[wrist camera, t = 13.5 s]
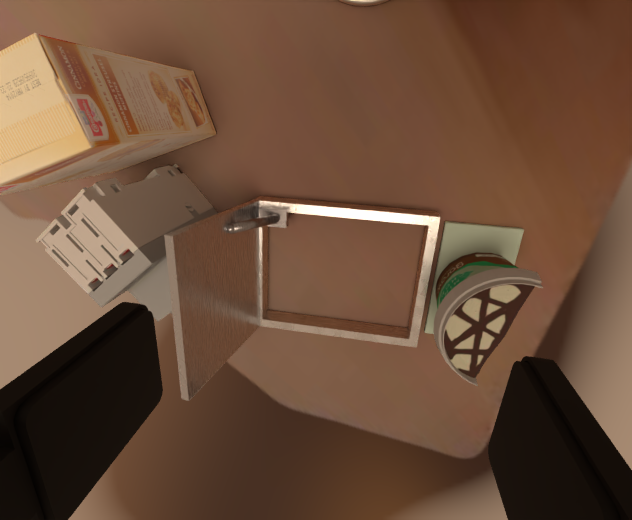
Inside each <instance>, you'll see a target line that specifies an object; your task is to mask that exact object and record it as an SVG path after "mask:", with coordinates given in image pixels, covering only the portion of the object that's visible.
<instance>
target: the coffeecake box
mask: <svg viewBox="0 0 632 520" xmlns="http://www.w3.org/2000/svg"><path fill="white" fill-rule="evenodd" d="M216 134H217V133H216V131H215V128H214V126H213V123H212V120H211V118H210V115H209V112H208V110H207V107H206V104H205V101H204V99H203V96H202V93H201V90H200V87H199V84H198V82H197V79H196V77H195V74H194V71H193V70H191V71H190V70H186V69H181V68H177V67H172V66H169V65H164V64H160V63H156V62H152V61H148V60H143V59H139V58H135V57H131V56H127V55H123V54H118V53H114V52H110V51H106V50H102V49H97V48H93V47H89V46H85V45H80V44H76V43H72V42H68V41H63V40H59V39H55V38H51V37H47V36H43V35H40V34H37V33H34V34H32V35H30V36H28V37H26V38H24V39H22V40H20V41H19V42H17V43H15V44H13V45H11V46H9V47H7V48H5V49H3V50H1V51H0V195H5V194H10V193H14V192H19V191H24V190H29V189H34V188H39V187H44V186H49V185H53V184H58V183H63V182H68V181H72V180H77V179H82V178H87V177H92V176H97V175H102V174H107V173H112V172H116V171H119V170H122V169H124V168H127V167H130V166H133V165H136V164H138V163H141V162H144V161H147V160H149V159H152V158H155V157H158V156H160V155H163V154H166V153H169V152H171V151H174V150H177V149H179V148H182V147H185V146H188V145H190V144H193V143H196V142H198V141H201V140H204V139H206V138H209V137H211V136H214V135H216Z"/></svg>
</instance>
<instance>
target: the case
mask: <svg viewBox="0 0 632 520" xmlns="http://www.w3.org/2000/svg"><path fill="white" fill-rule="evenodd" d="M289 212H290V213H301V214H312V215H322V216H333V217H343V218H354V219H365V220H375V221H386V222H397V223H407V224H418V225H425V230H424V236H423V242H422V248H421V253H420V259H419V265H418V271H417V277H416V283H415V289H414V295H413V301H412V307H411V313H410V318H409V324H408V328H404V327H396V326H388V325H381V324H373V323H365V322H358V321H350V320H342V319H335V318H327V317H319V316H312V315H304V314H297V313H289V312H281V311H274V310H268V226H271V227H281V228H287V226H288V219H289ZM439 223H440V215H439V214H438V212H437V211H427V210H416V209H405V208H394V207H382V206H371V205H360V204H349V203H337V202H326V201H315V200H304V199H292V198H281V197H270V196H259V197H257V198H256V199H254V200H251V201H248V202H246V203H243V204H241V205H238V206H236V207H233V208H231V209H228V210H226V211H223V212H221V213H218V214H215V215H213V216H210V217H208V218H205V219H203V220H200V221H198V222H195V223H193V224H190V225H188V226H185V227H183V228H180V229H178V230H175V231H173V232H170V233H167V234H165V235H164V237H165V247H166V256H167V266H168V275H169V285H170V294H171V304H172V313H173V322H174V332H175V341H176V350H177V360H178V370H179V379H180V389H181V398H182V399H184V400H187V401H189V400H190V399H191V398H192V397H193V396H194V395H195V394H196V393H197V392H198V391H199V390H200V389H201V387H203V385H204V384H205V383H206V382H207V381H208V380H209V379H210V378H211V377H212V376H213V375H214V374H215V373H216V372H217V371H218V370H219V369H220V367H221V366H222V365H223V364H224V363H225V362H226V361H227V360H228V359H229V358H230V357H231V356H232V355H233V354H234V353H235V352H236V351H237V350H238V348H239V347H240V346H241V345H242V344H243V343H244V342H245V341H246V340H247V339H248V338H249V337H250V336H251V335H252V334H253V333H254V332H255V330H256V329H257V328H258V327H259V326H264V327H271V328H278V329H285V330H293V331H300V332H307V333H315V334H322V335H329V336H336V337H344V338H351V339H358V340H366V341H373V342H380V343H387V344H395V345H402V346H409V347H417V343H418V337H419V332H420V326H421V321H422V315H423V310H424V304H425V299H426V294H427V288H428V283H429V277H430V272H431V266H432V261H433V255H434V250H435V245H436V239H437V234H438V228H439Z"/></svg>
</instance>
